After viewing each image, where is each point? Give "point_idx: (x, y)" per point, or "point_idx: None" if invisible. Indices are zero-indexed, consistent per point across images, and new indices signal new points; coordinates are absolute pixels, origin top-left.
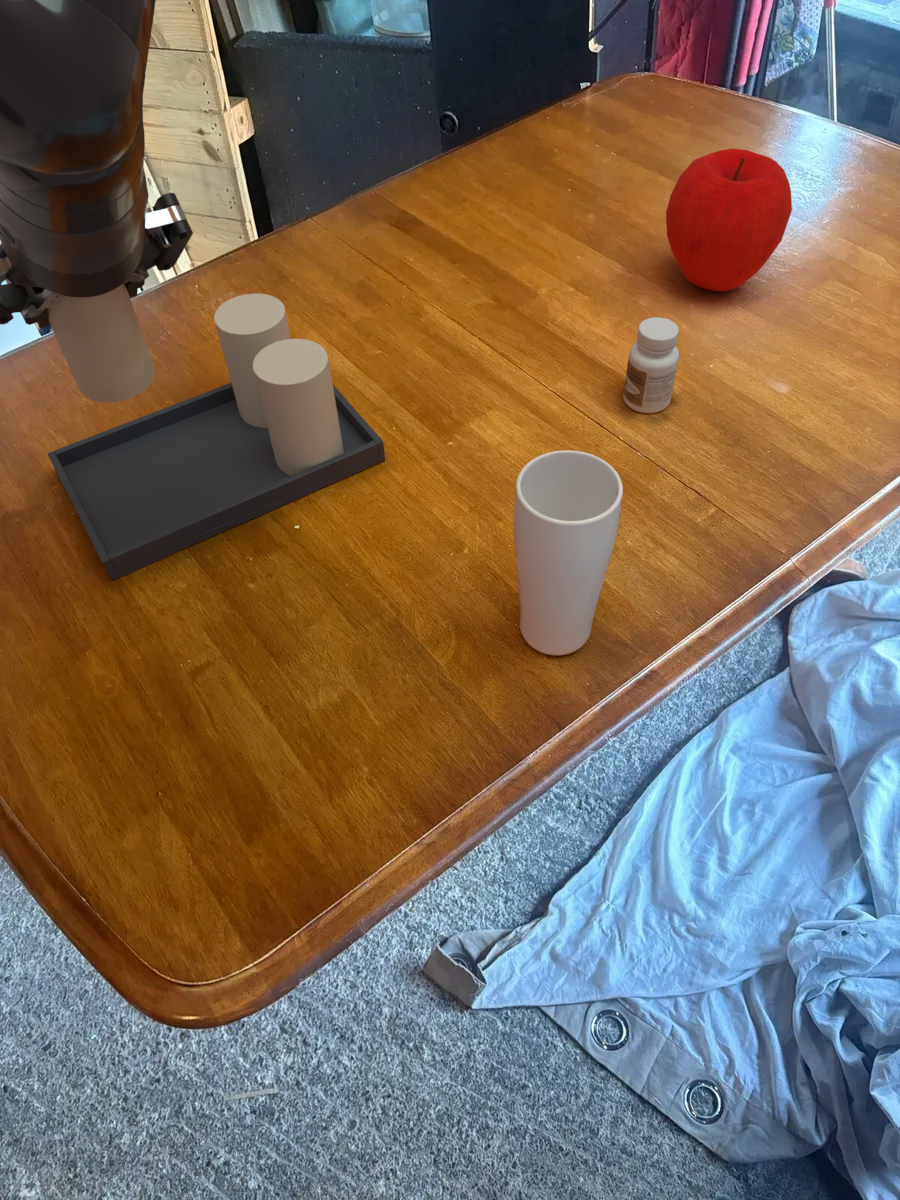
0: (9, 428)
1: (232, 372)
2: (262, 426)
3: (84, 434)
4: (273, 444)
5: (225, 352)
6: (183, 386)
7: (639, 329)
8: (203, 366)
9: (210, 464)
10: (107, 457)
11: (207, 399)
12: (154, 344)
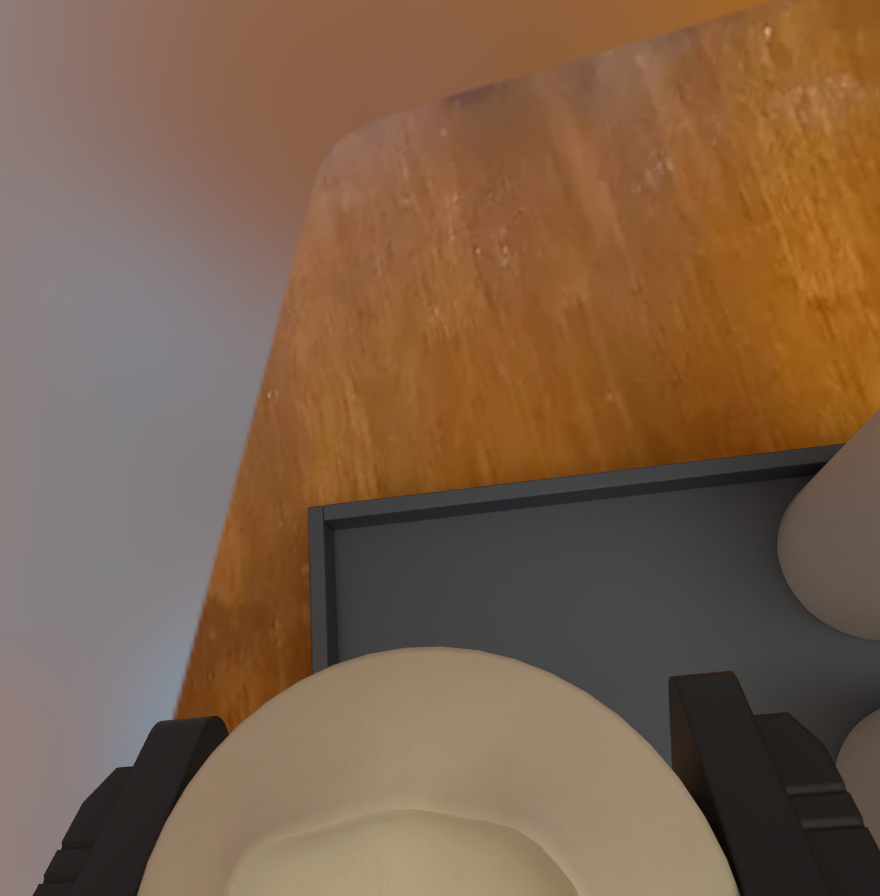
0: (273, 337)
1: (836, 545)
2: (827, 622)
3: (408, 424)
4: (867, 817)
5: (854, 516)
6: (658, 358)
7: None
8: (721, 308)
9: (660, 695)
10: (433, 546)
11: (712, 478)
12: (626, 191)
